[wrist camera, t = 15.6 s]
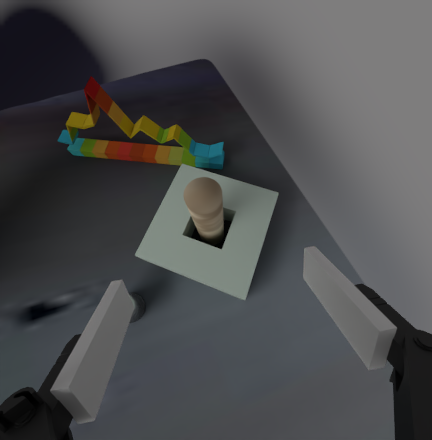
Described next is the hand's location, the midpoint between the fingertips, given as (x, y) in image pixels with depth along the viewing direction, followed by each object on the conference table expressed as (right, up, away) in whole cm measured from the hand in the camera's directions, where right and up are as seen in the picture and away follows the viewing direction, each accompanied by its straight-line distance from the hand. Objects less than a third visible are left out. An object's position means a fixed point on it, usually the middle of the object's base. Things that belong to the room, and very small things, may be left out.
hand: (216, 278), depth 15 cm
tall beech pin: (-1, +2, +19) cm, 19 cm away
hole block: (-1, +2, +19) cm, 19 cm away
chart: (-14, +17, +26) cm, 34 cm away
